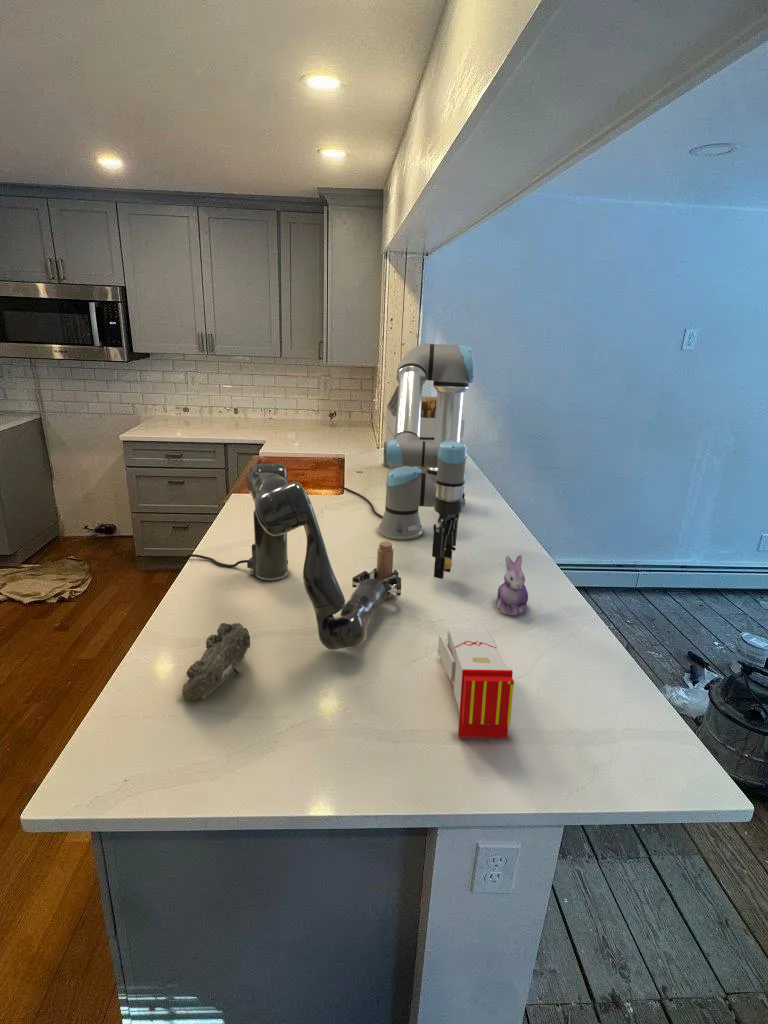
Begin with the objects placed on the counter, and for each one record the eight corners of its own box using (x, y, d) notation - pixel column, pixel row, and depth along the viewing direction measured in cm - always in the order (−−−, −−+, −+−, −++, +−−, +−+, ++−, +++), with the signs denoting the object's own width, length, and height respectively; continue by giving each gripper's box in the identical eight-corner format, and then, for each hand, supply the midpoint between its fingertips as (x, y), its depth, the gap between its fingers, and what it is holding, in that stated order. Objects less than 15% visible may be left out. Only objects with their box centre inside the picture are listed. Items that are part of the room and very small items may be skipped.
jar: (372, 596, 156) (374, 544, 151) (380, 590, 159) (383, 539, 154) (386, 600, 154) (388, 548, 149) (394, 594, 157) (396, 543, 152)
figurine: (510, 620, 147) (517, 567, 142) (486, 602, 155) (492, 552, 150) (538, 612, 151) (545, 561, 146) (513, 595, 159) (519, 546, 154)
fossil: (203, 625, 130) (250, 595, 125) (232, 653, 133) (279, 625, 128) (160, 694, 111) (214, 662, 106) (195, 725, 113) (249, 695, 108)
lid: (454, 565, 165) (455, 559, 164) (445, 571, 161) (446, 564, 160) (440, 561, 168) (441, 555, 167) (431, 566, 164) (431, 560, 163)
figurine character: (465, 515, 224) (460, 499, 237) (467, 498, 221) (462, 483, 234) (448, 515, 224) (444, 499, 237) (450, 498, 220) (445, 482, 234)
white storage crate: (382, 463, 289) (386, 382, 275) (445, 464, 293) (451, 384, 279) (390, 482, 257) (394, 392, 243) (460, 483, 261) (468, 394, 247)
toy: (488, 613, 130) (523, 677, 101) (484, 667, 133) (517, 744, 104) (435, 612, 130) (455, 676, 101) (432, 666, 133) (451, 743, 103)
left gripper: (395, 591, 138) (413, 563, 154) (340, 580, 142) (363, 554, 158) (393, 617, 141) (411, 588, 156) (340, 607, 145) (362, 579, 160)
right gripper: (448, 488, 167) (442, 560, 174) (423, 503, 152) (417, 582, 159) (472, 492, 163) (465, 566, 171) (449, 508, 149) (442, 588, 156)
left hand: (387, 571), depth 157 cm, fingers closed on jar, 4 cm apart
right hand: (442, 574), depth 165 cm, fingers closed on lid, 5 cm apart
